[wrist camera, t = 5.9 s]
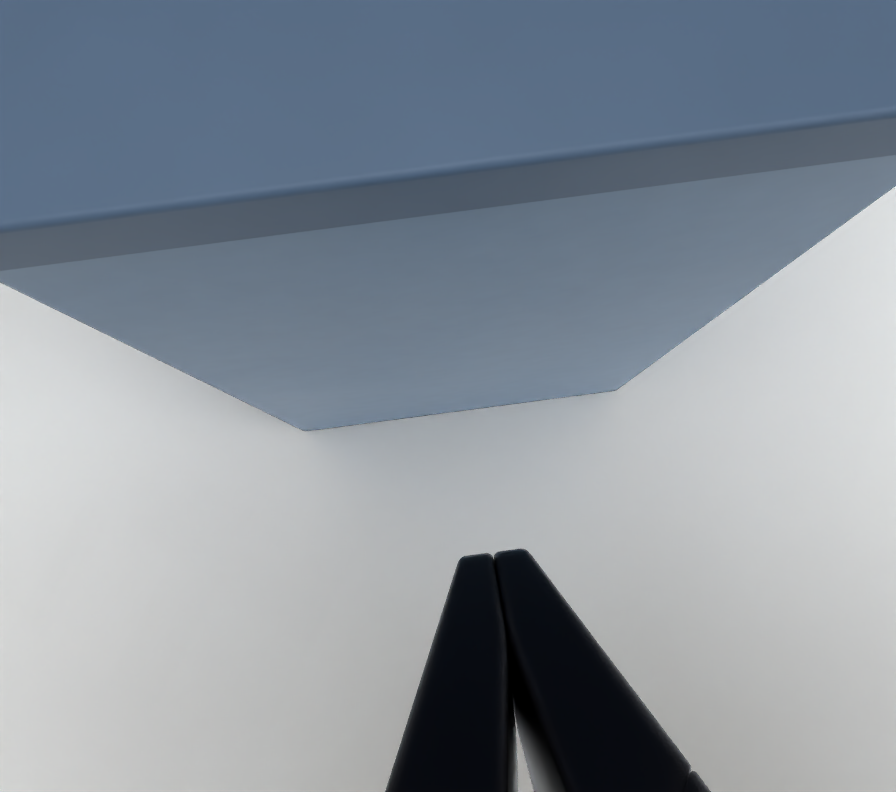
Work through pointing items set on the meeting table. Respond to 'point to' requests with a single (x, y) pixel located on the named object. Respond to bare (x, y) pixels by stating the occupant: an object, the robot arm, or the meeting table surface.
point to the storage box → (428, 183)
